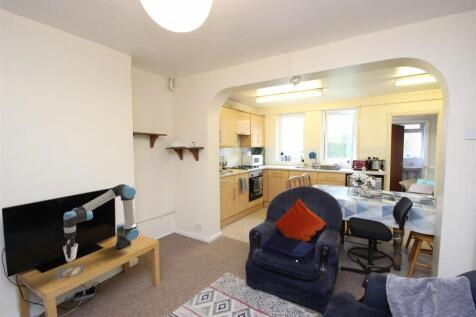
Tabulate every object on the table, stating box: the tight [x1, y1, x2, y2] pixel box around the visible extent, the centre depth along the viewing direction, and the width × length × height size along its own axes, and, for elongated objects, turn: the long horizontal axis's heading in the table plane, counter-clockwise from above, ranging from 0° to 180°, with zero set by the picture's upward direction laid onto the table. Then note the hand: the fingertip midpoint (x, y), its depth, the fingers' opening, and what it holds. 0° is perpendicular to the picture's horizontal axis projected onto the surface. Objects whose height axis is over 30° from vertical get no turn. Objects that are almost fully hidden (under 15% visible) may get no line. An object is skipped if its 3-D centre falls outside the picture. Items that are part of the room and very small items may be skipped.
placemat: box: [53, 264, 86, 281], centre depth 181 cm, size 18×16×1 cm
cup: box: [62, 242, 79, 262], centre depth 179 cm, size 10×10×11 cm
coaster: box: [61, 266, 81, 278], centre depth 180 cm, size 13×13×1 cm
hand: (71, 258), depth 180 cm, fingers closed on cup, 8 cm apart
